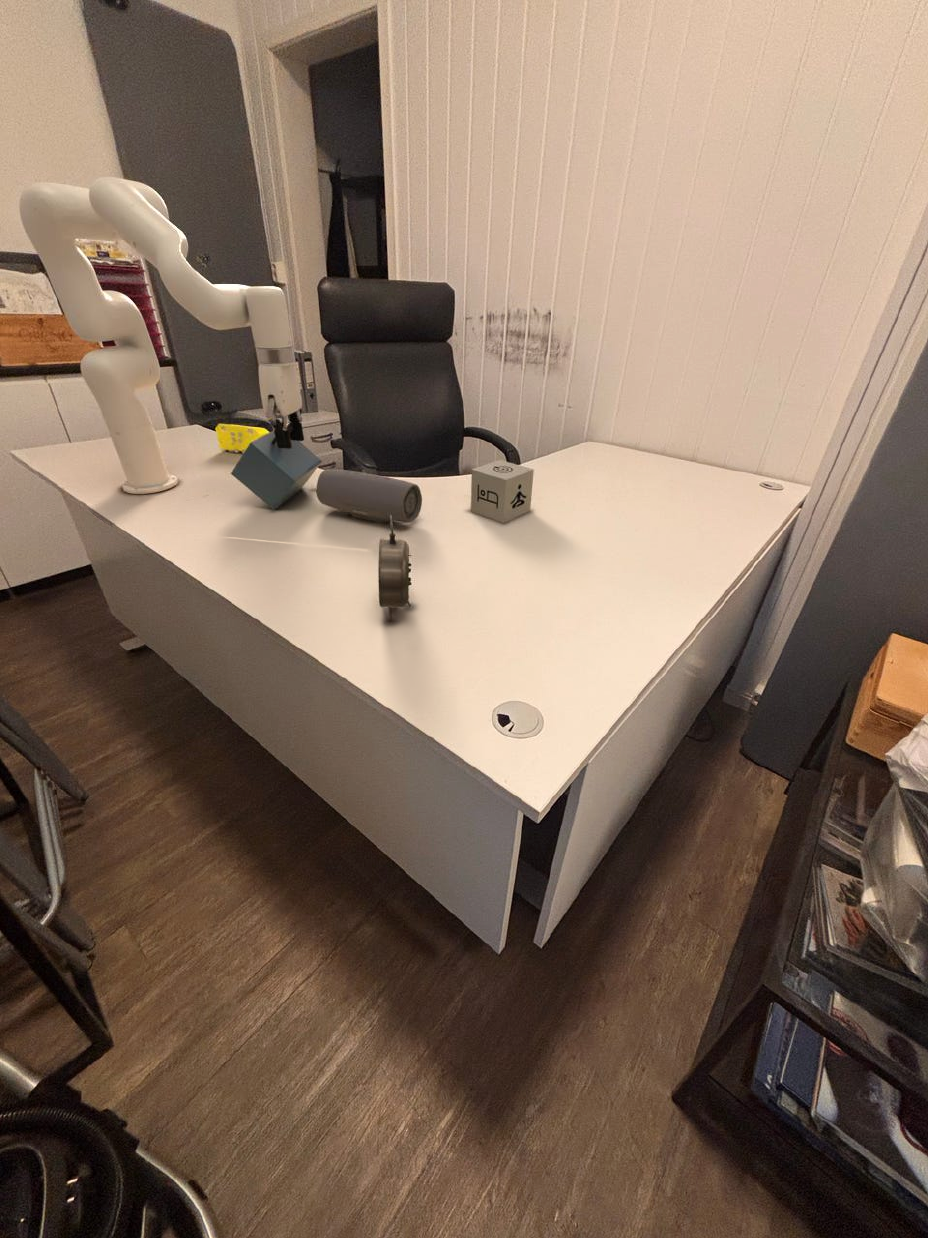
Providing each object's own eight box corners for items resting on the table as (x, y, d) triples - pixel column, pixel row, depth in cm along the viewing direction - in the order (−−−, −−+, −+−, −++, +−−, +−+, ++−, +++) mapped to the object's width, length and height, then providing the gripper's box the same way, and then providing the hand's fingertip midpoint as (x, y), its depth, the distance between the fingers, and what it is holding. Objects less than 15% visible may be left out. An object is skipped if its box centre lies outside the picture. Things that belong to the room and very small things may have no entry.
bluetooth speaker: (424, 518, 116) (422, 475, 110) (403, 534, 109) (400, 489, 103) (342, 502, 124) (337, 461, 118) (318, 515, 117) (311, 472, 111)
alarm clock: (383, 590, 90) (375, 503, 80) (413, 589, 90) (409, 502, 81) (379, 626, 81) (370, 532, 71) (414, 625, 81) (409, 531, 72)
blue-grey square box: (230, 473, 115) (260, 427, 108) (263, 454, 127) (292, 411, 120) (273, 510, 119) (305, 467, 111) (301, 488, 131) (331, 448, 123)
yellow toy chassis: (220, 451, 157) (212, 423, 152) (232, 446, 161) (225, 419, 157) (263, 457, 153) (257, 428, 148) (274, 451, 157) (269, 423, 153)
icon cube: (470, 511, 120) (471, 469, 114) (497, 500, 126) (499, 459, 120) (503, 523, 114) (506, 479, 109) (530, 510, 121) (533, 469, 115)
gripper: (278, 350, 114) (292, 433, 124) (237, 361, 100) (257, 453, 110) (310, 351, 113) (321, 435, 123) (272, 362, 99) (289, 456, 109)
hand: (291, 443), depth 117 cm, fingers closed on blue-grey square box, 5 cm apart
